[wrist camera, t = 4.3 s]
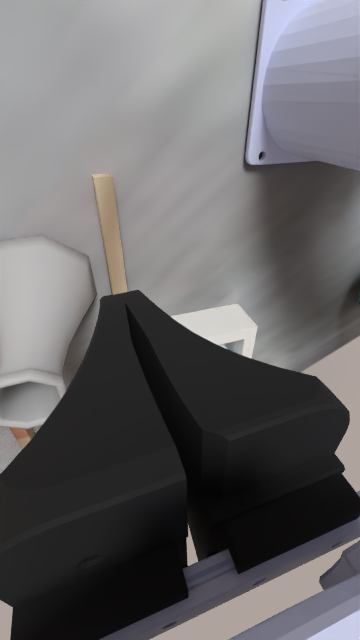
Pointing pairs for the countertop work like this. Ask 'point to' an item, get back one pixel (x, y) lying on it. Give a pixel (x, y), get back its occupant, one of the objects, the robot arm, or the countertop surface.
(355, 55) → the robot arm
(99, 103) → the countertop surface
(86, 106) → the countertop surface
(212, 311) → the dome housing
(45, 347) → the flask
